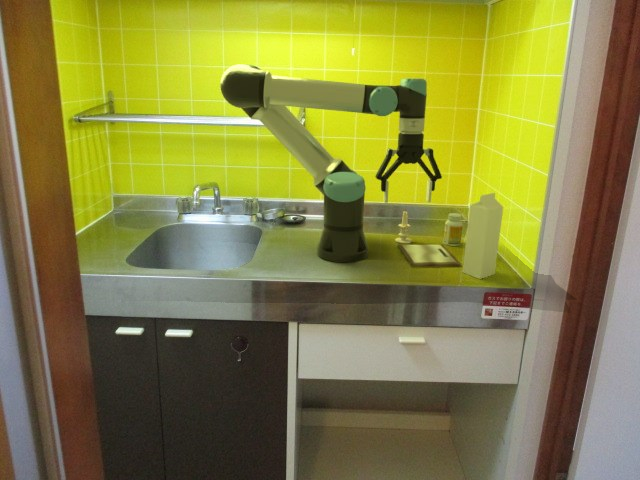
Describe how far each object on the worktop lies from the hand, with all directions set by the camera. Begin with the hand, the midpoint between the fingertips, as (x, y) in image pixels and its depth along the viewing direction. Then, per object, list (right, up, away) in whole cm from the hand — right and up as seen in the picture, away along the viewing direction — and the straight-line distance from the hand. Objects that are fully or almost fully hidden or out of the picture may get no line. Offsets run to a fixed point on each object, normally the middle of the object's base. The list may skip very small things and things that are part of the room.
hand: (407, 201), depth 155 cm
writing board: (+5, -17, -9) cm, 20 cm away
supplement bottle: (+15, -13, +3) cm, 20 cm away
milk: (+16, -21, -21) cm, 34 cm away
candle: (0, -13, +4) cm, 13 cm away
